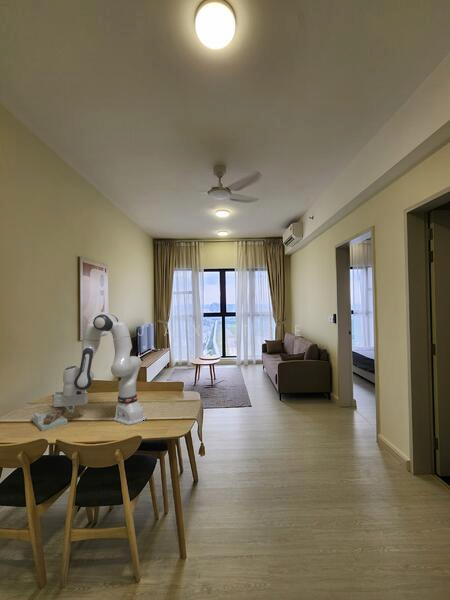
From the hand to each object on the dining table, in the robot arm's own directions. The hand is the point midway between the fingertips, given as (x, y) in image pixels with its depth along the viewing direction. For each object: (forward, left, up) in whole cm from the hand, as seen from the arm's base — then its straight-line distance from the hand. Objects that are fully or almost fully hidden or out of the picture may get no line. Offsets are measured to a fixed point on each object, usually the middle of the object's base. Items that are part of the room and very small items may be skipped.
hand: (70, 412), depth 189 cm
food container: (+28, -3, -4) cm, 28 cm away
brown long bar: (+1, +9, -1) cm, 9 cm away
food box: (+5, +11, -4) cm, 13 cm away
